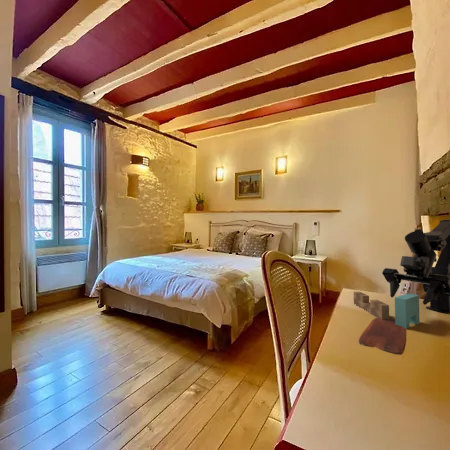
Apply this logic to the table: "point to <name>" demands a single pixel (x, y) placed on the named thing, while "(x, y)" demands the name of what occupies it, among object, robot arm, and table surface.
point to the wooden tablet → (384, 335)
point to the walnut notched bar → (371, 305)
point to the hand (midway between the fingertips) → (406, 300)
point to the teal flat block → (407, 310)
